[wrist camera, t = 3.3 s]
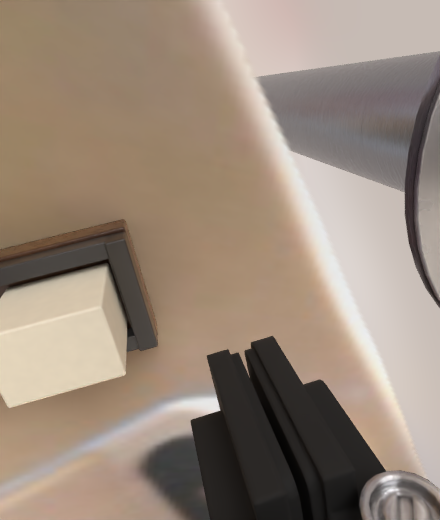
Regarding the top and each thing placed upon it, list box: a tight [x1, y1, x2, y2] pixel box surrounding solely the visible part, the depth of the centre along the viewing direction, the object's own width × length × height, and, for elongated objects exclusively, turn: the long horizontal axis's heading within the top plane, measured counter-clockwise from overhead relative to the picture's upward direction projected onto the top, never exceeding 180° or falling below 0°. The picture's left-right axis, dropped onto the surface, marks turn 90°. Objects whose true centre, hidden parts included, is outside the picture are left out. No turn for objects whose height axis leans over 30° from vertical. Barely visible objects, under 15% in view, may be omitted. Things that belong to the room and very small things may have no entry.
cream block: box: [0, 263, 127, 408], centre depth 15 cm, size 4×3×4 cm
